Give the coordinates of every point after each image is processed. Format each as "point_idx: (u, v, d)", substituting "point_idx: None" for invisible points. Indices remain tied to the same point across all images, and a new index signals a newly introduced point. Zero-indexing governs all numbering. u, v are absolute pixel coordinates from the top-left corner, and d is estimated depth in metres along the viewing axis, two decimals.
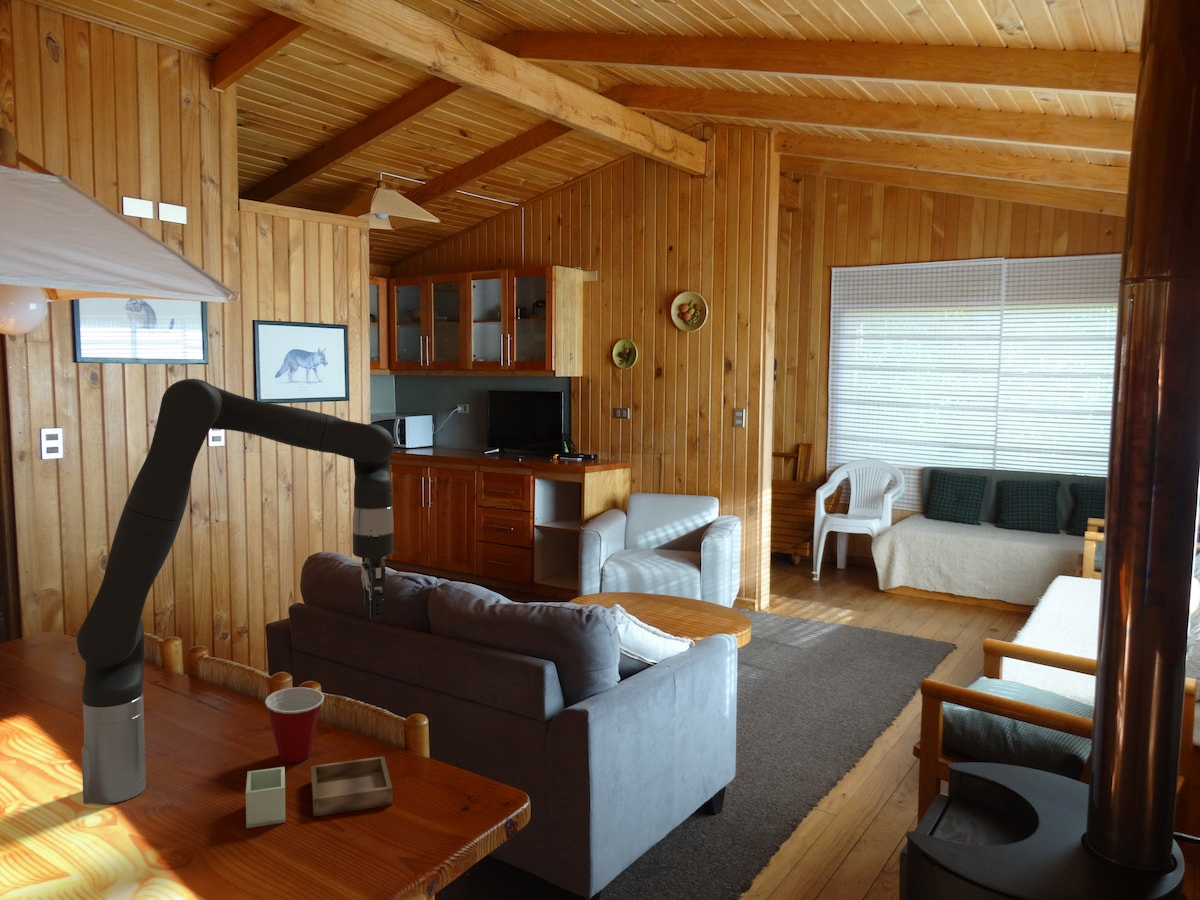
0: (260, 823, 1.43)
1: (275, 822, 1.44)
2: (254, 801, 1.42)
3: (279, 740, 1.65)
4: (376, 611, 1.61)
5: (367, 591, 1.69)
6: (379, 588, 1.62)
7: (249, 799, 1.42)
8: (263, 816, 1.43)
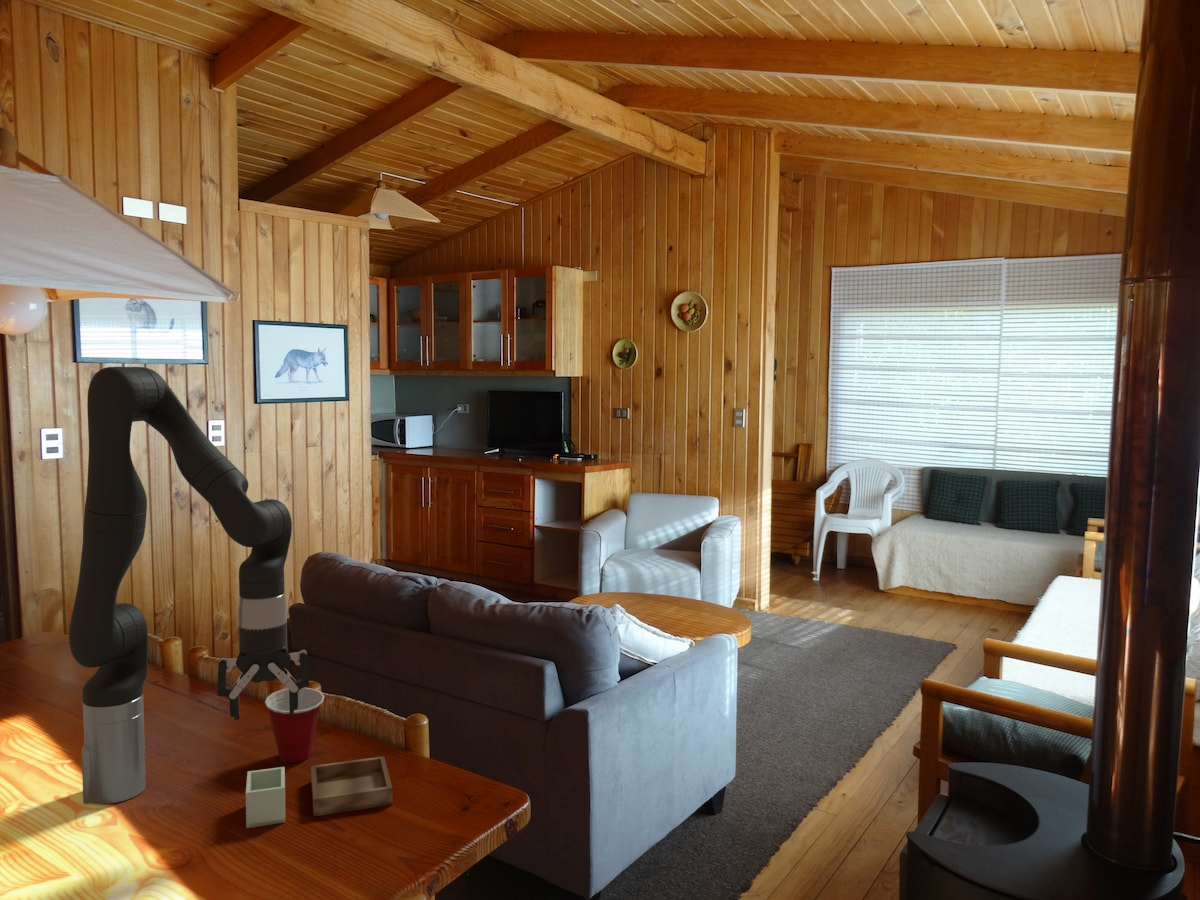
0: (260, 823, 1.43)
1: (275, 822, 1.44)
2: (254, 801, 1.42)
3: (279, 740, 1.65)
4: None
5: (238, 699, 1.43)
6: None
7: (249, 799, 1.42)
8: (263, 816, 1.43)
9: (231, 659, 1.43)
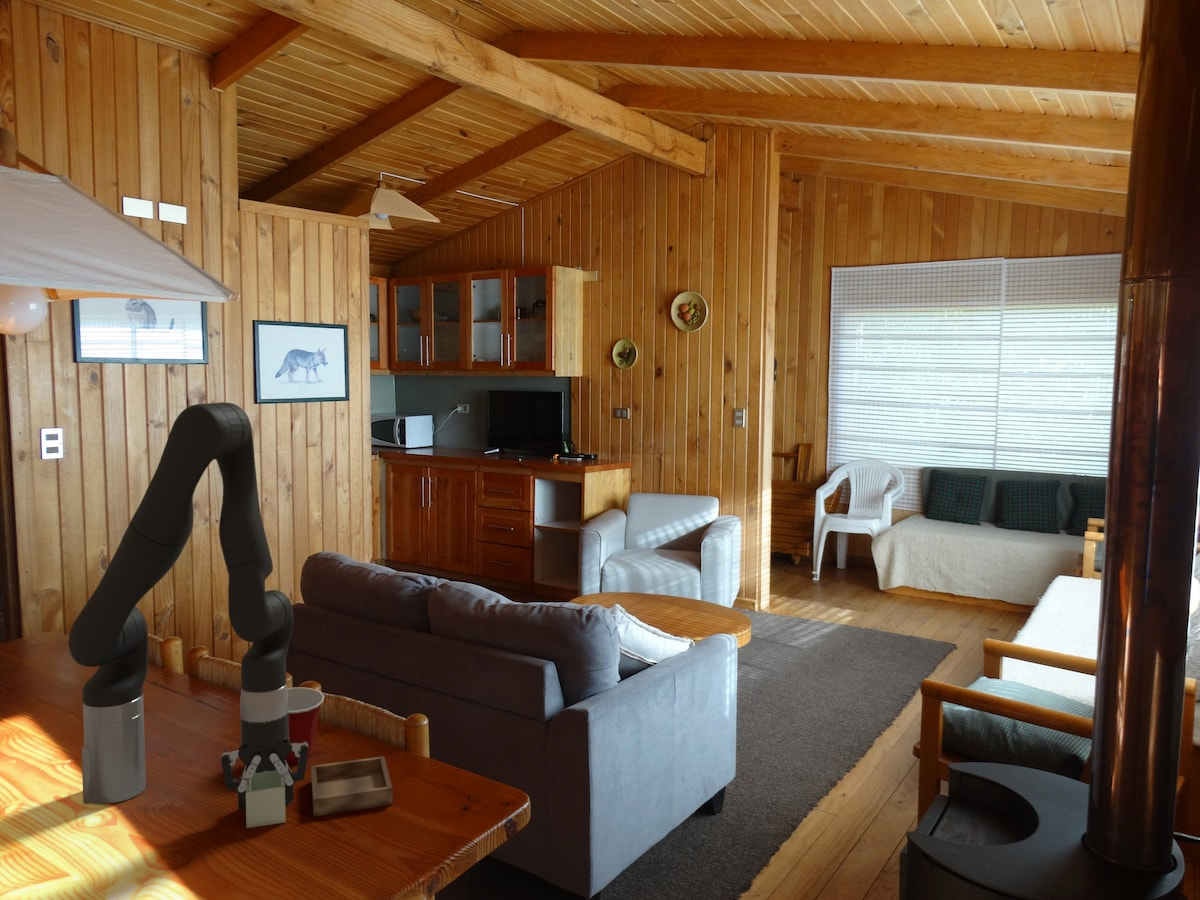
0: (260, 823, 1.43)
1: (275, 822, 1.44)
2: (254, 801, 1.42)
3: None
4: None
5: None
6: None
7: (249, 799, 1.42)
8: (263, 816, 1.43)
9: (233, 752, 1.44)
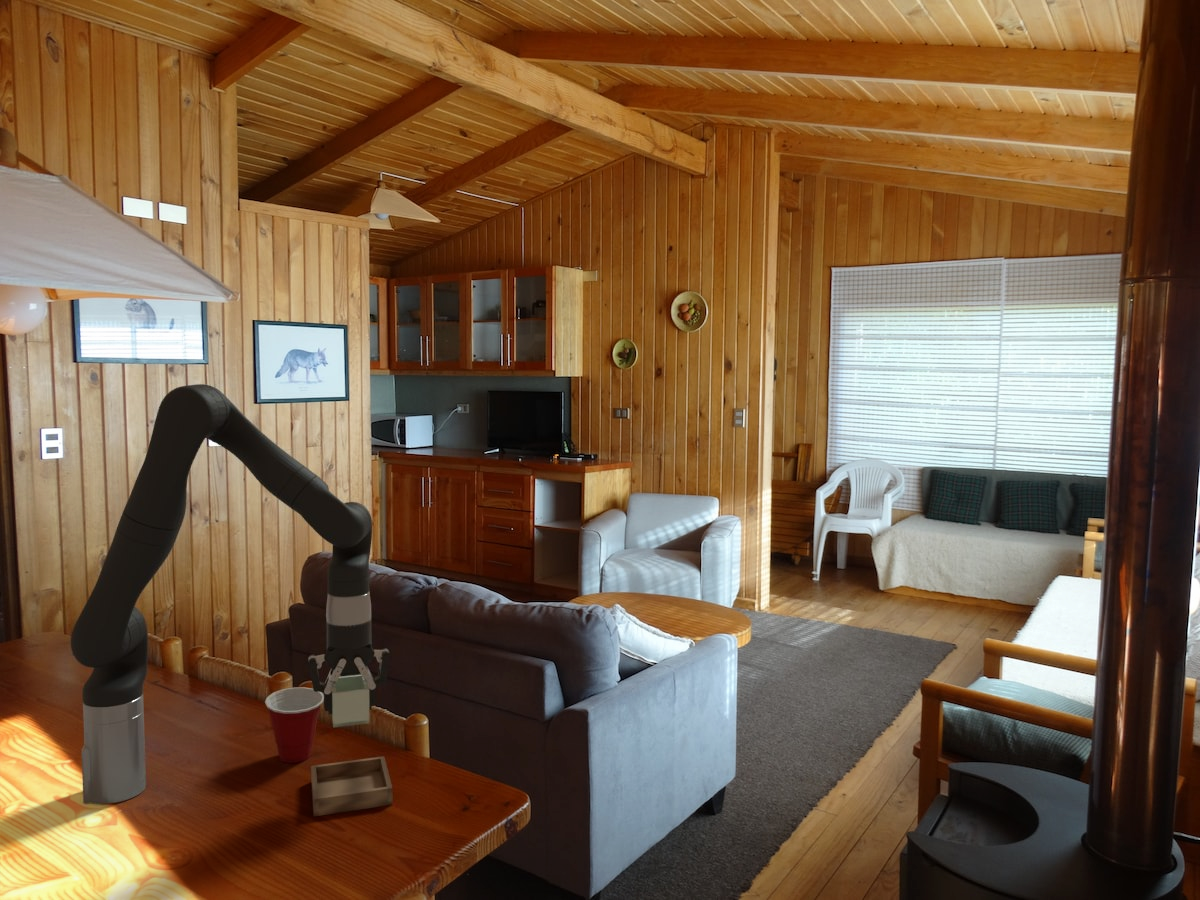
0: (346, 723, 1.49)
1: (360, 723, 1.50)
2: (340, 702, 1.49)
3: (279, 740, 1.65)
4: None
5: None
6: None
7: (336, 699, 1.48)
8: (349, 716, 1.49)
9: (319, 656, 1.50)
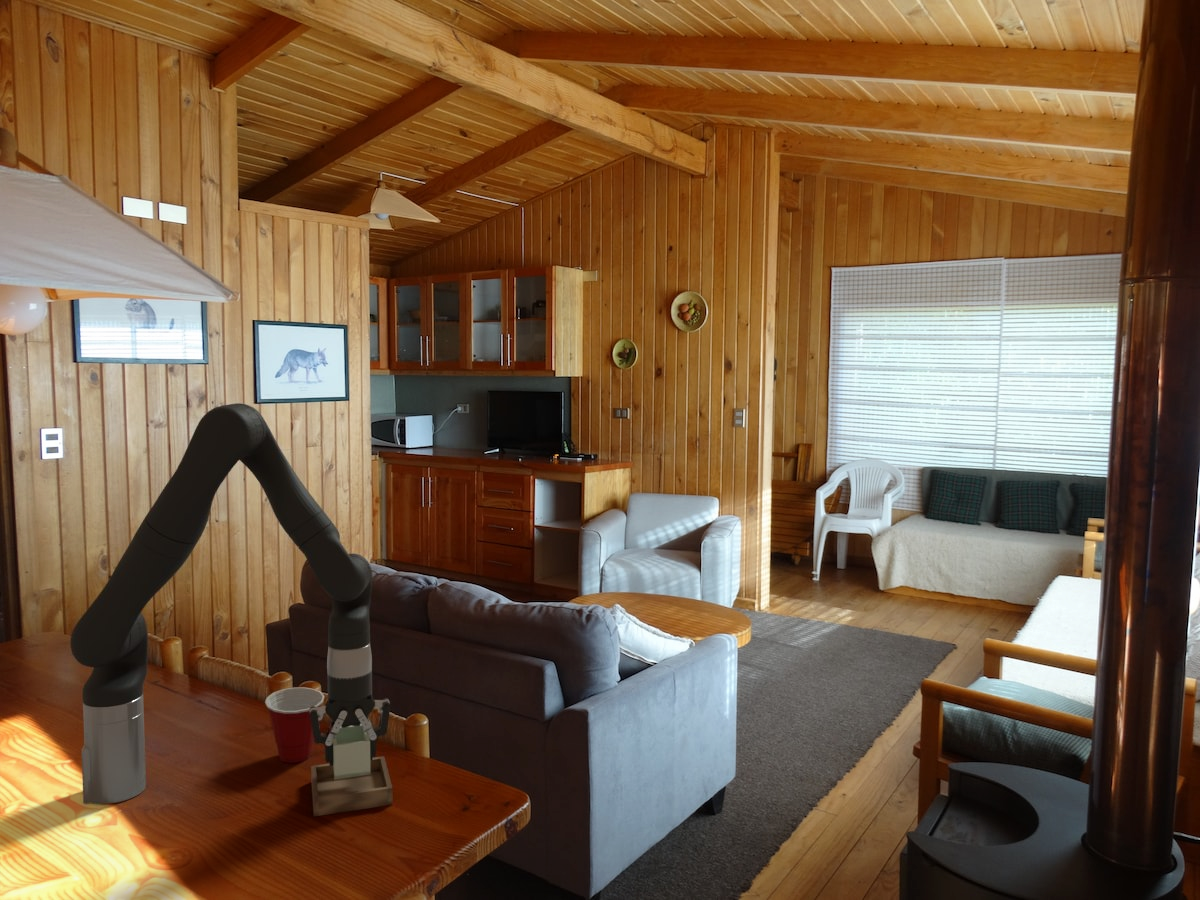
0: (347, 775, 1.50)
1: (361, 774, 1.51)
2: (342, 754, 1.49)
3: (279, 740, 1.65)
4: None
5: None
6: None
7: (337, 752, 1.49)
8: (350, 768, 1.50)
9: (320, 708, 1.51)
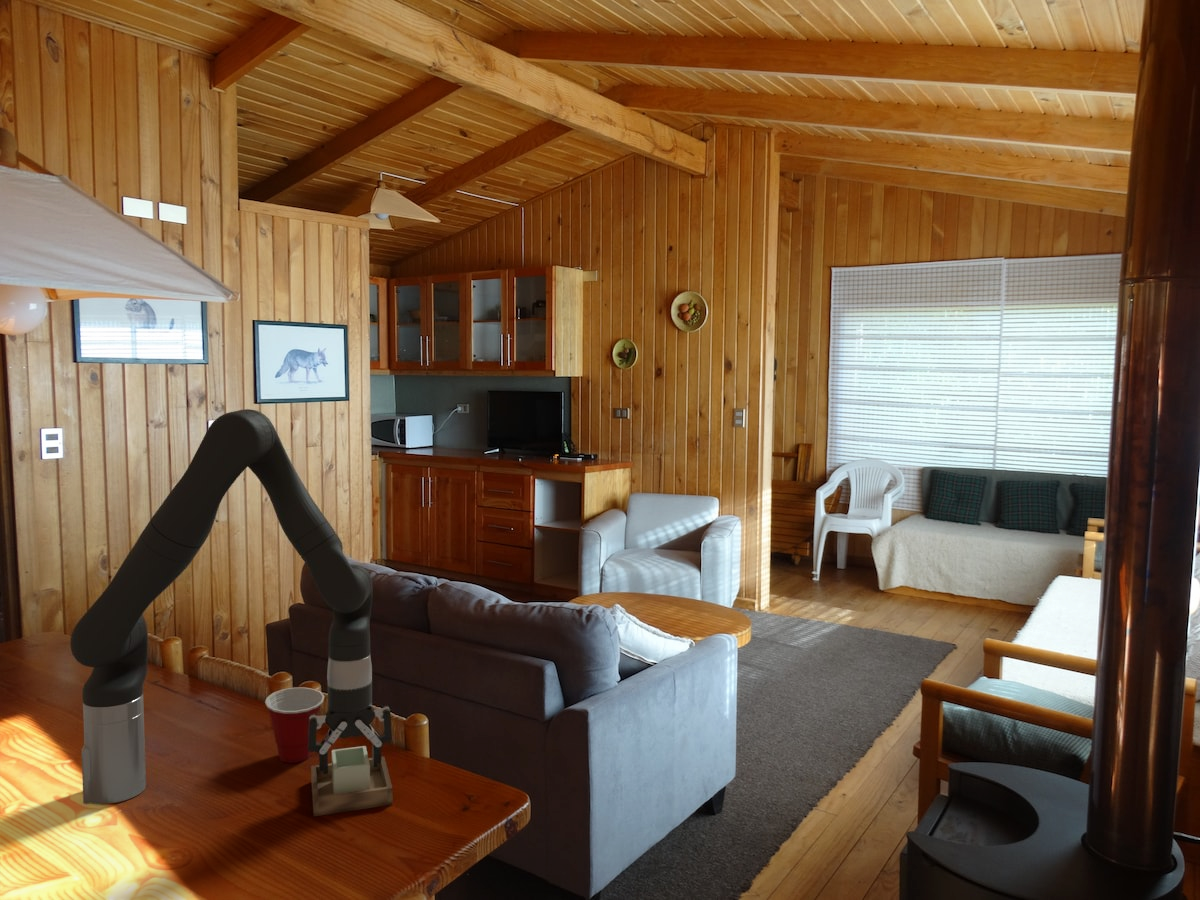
0: None
1: None
2: (341, 777, 1.50)
3: (279, 740, 1.65)
4: None
5: (327, 754, 1.52)
6: None
7: (337, 775, 1.50)
8: (349, 791, 1.51)
9: (320, 716, 1.51)
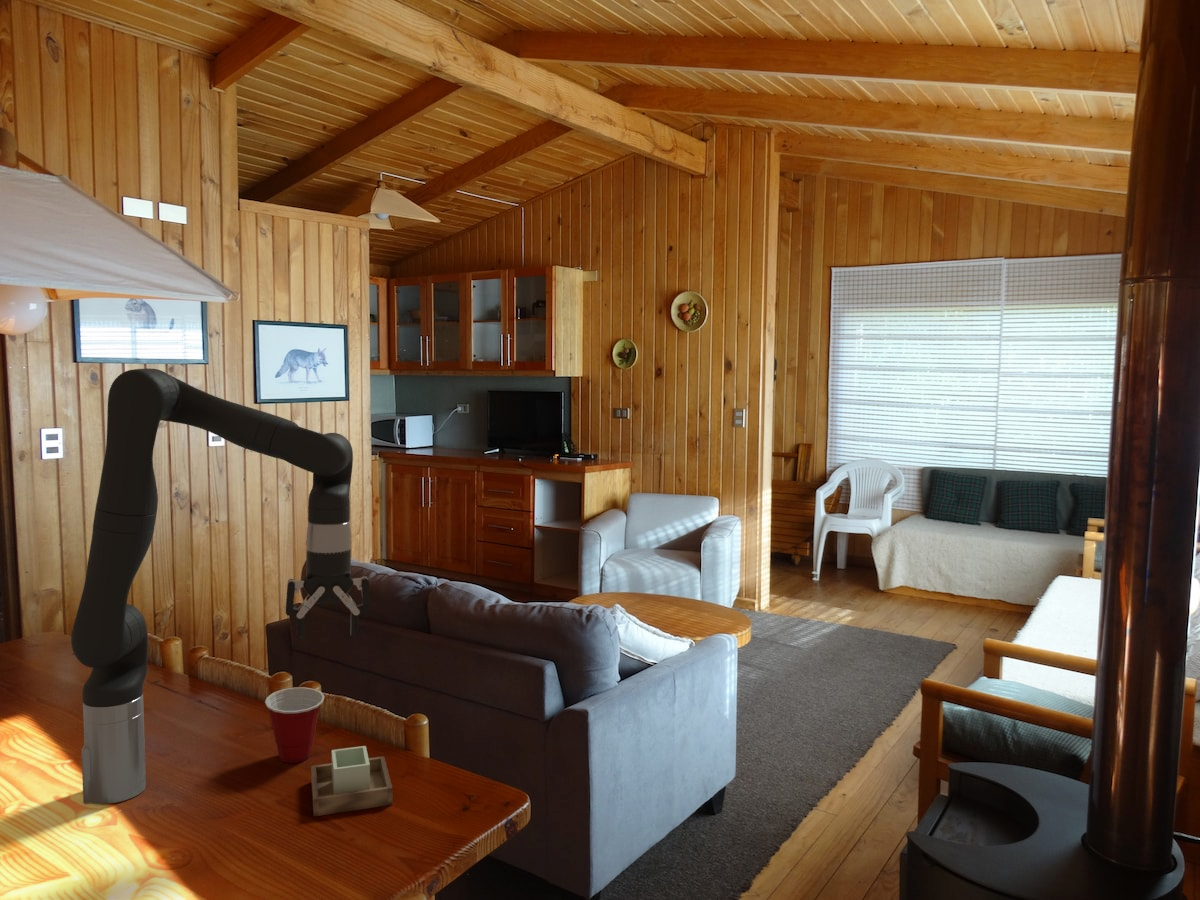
0: None
1: None
2: (341, 777, 1.50)
3: (279, 740, 1.65)
4: None
5: (304, 619, 1.53)
6: None
7: (337, 775, 1.50)
8: (349, 791, 1.51)
9: (299, 581, 1.52)
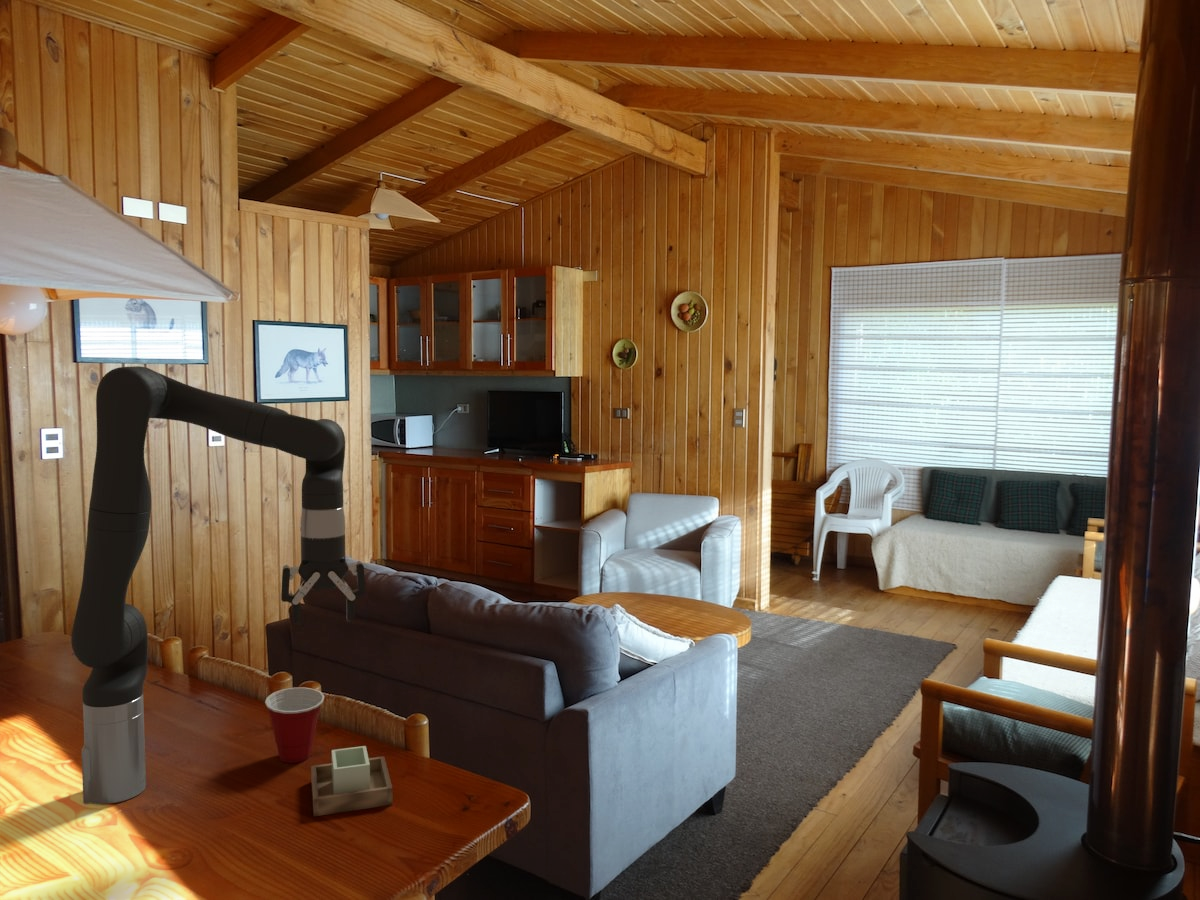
0: None
1: None
2: (341, 777, 1.50)
3: (279, 740, 1.65)
4: None
5: (300, 605, 1.53)
6: None
7: (337, 775, 1.50)
8: (349, 791, 1.51)
9: (294, 567, 1.52)
